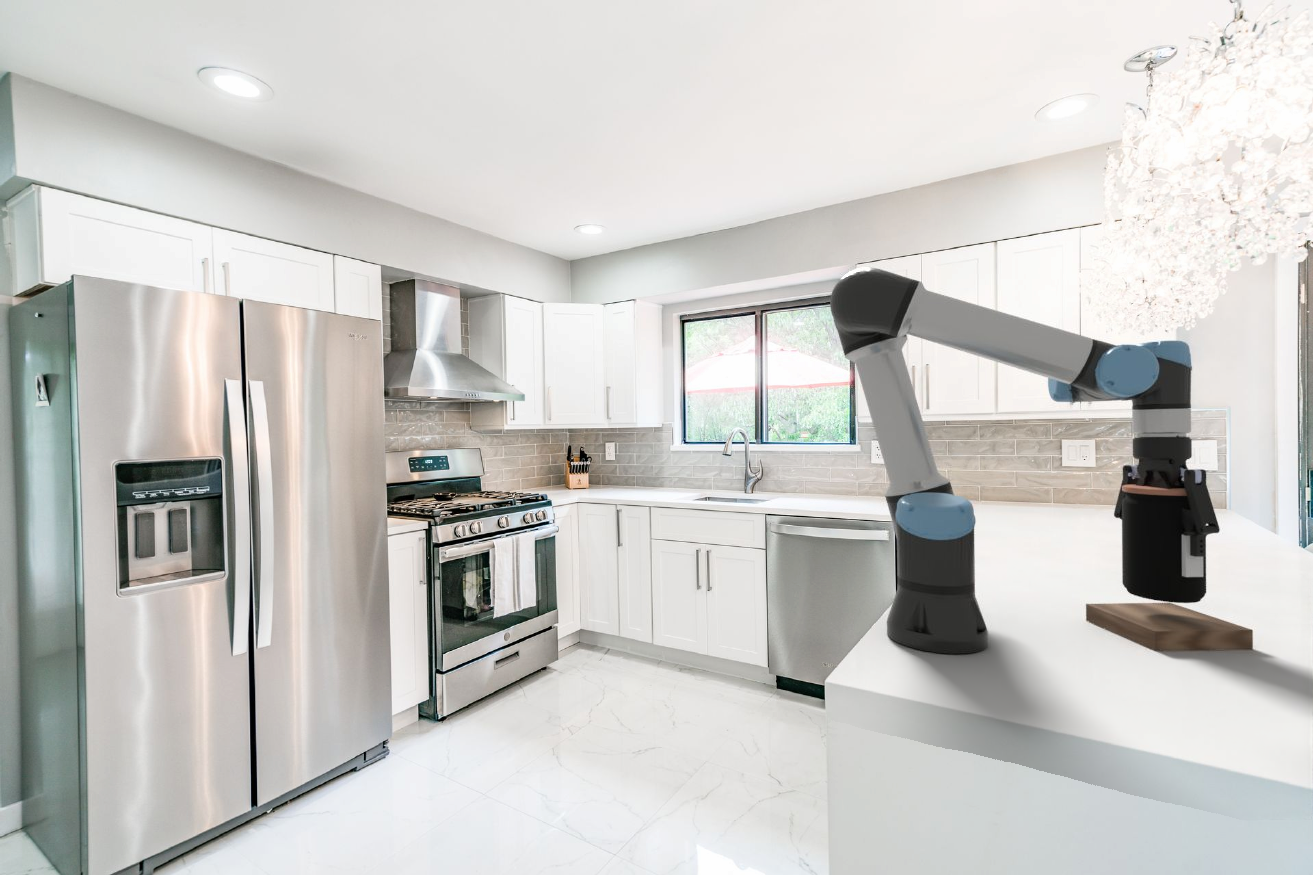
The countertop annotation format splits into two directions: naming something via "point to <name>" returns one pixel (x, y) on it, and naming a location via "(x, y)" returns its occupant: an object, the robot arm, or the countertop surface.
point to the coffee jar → (1156, 545)
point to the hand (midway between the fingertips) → (1162, 568)
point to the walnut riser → (1169, 626)
